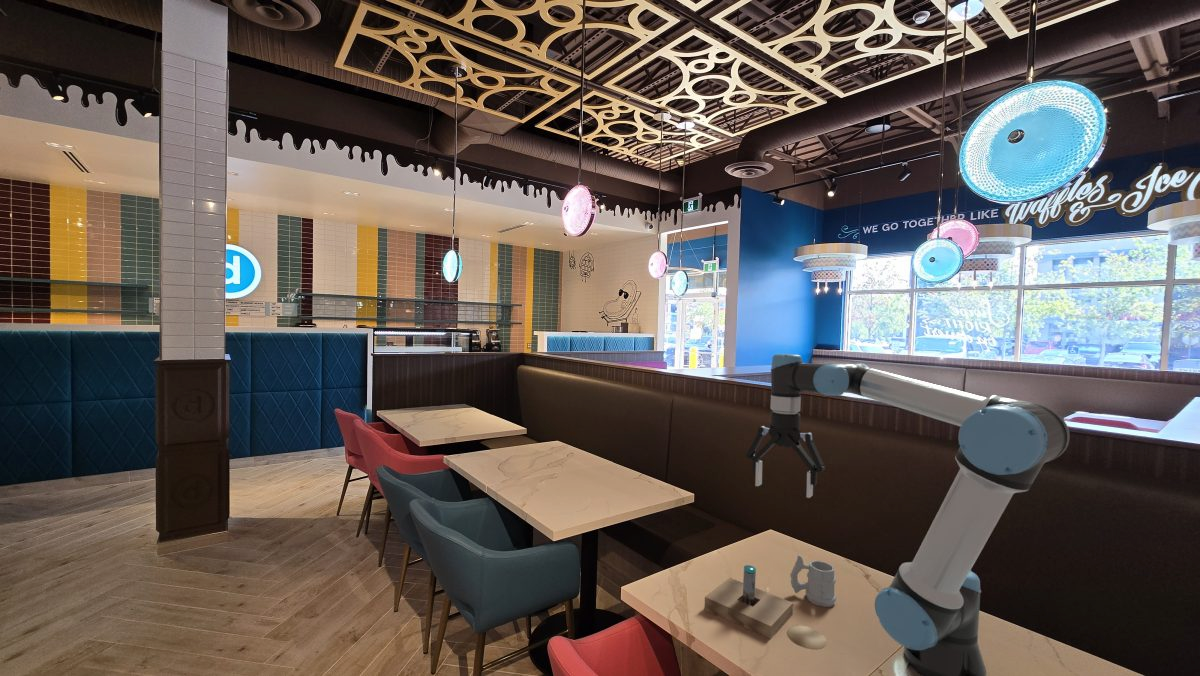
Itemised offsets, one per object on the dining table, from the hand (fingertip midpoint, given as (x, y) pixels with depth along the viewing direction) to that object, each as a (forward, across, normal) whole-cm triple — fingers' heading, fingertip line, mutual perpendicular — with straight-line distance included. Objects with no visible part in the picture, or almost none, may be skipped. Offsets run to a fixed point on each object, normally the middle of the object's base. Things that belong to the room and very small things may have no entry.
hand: (783, 490), depth 131 cm
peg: (+32, +6, +8) cm, 33 cm away
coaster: (+32, -10, +9) cm, 34 cm away
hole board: (+32, +6, +8) cm, 33 cm away
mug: (+32, -5, -10) cm, 34 cm away
